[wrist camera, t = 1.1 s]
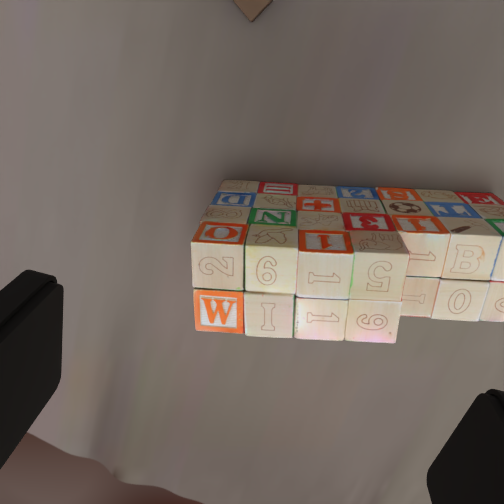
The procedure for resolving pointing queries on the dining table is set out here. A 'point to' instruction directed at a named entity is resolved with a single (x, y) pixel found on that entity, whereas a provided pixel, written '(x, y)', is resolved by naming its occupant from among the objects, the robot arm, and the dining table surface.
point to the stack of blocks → (345, 260)
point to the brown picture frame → (252, 7)
